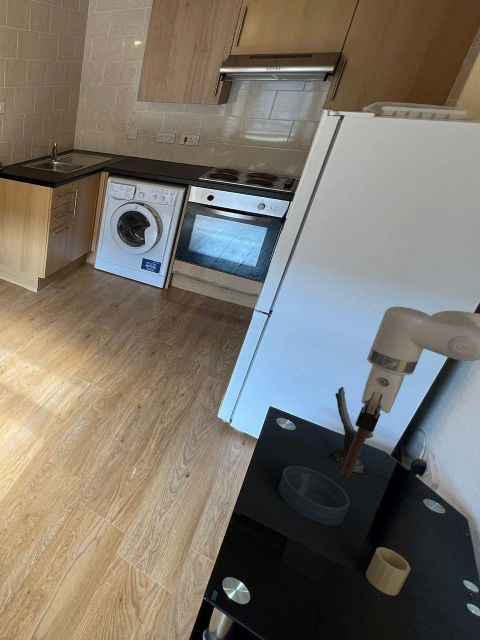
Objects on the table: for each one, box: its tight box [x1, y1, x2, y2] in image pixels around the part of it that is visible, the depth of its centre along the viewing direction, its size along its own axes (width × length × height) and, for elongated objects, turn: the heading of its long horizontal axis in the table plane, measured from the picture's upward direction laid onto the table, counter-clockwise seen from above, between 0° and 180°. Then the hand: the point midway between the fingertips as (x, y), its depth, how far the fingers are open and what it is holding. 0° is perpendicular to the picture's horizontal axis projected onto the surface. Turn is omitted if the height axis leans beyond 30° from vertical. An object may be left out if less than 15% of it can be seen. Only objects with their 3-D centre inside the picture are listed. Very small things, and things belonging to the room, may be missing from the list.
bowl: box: [277, 465, 351, 526], centre depth 112 cm, size 14×14×6 cm
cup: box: [365, 546, 411, 597], centre depth 91 cm, size 5×5×8 cm
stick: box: [340, 406, 377, 478], centre depth 99 cm, size 2×2×20 cm
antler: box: [330, 386, 374, 473], centre depth 124 cm, size 12×8×25 cm
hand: (365, 425), depth 97 cm, fingers closed on stick, 1 cm apart
